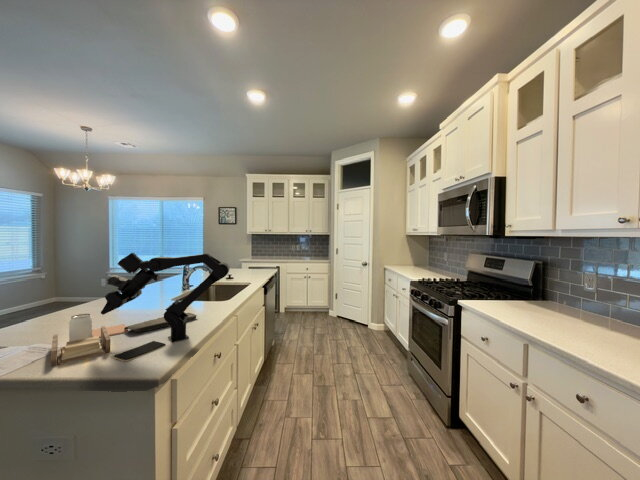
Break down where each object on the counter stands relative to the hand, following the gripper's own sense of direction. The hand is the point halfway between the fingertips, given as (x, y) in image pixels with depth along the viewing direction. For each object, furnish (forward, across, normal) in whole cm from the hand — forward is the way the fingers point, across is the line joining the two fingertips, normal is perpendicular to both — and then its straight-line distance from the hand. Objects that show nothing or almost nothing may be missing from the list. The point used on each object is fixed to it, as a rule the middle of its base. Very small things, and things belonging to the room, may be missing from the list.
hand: (108, 310), depth 104 cm
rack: (+14, +5, +5) cm, 16 cm away
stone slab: (0, -20, +19) cm, 28 cm away
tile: (+14, -14, +5) cm, 20 cm away
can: (+16, +1, +3) cm, 16 cm away
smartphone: (0, +10, +21) cm, 23 cm away
